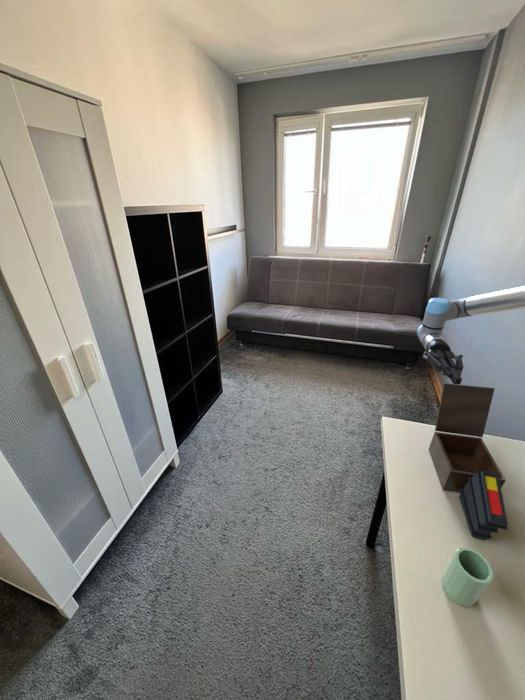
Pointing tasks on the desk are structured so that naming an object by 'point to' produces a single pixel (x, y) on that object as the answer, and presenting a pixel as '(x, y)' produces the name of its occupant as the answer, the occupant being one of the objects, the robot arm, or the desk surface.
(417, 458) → the desk surface
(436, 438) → the case
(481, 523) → the black layered block
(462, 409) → the cover
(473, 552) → the pencil cup
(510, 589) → the desk surface
